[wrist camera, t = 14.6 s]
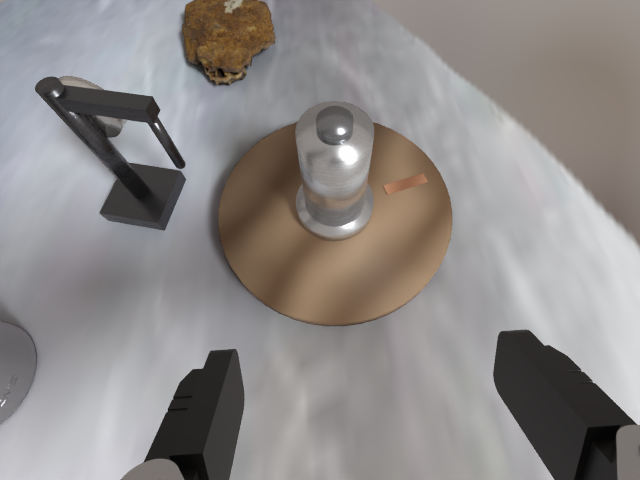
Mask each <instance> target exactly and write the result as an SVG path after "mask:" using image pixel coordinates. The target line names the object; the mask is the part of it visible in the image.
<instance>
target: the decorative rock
mask: <svg viewBox="0 0 640 480" xmlns="http://www.w3.org/2000/svg"><path fill="white" fill-rule="evenodd" d="M273 30H274V28H273V24H272V20H271V13H270V10H269V8H268V6H267V4H266V3H265V2H262V1H258V0H194V1H192V2H190V3H188V4H187V5H186V6H185V23H184V24H183V26H182V31H183V35H184V42H185V55H187V58H186V59H189V62H191V63H193V64H199V62H201V63H202V65H203V66H204V70H205V73H206V75H209V77H210V80H211V81H215V82H216V85H217V84H219V85H220V84H221V83H228V84H231V83H232V82H233V81H235V80H242V79H244V78H245V76H246V71H245V66H248V65H250V67H251V62H252V57H253V56H254V55H256V54H257V53H259V52H260V51H261V49H262V48H263V49H267V48H268V47H269V46H270V45H272V44H274V43H275V34H274V32H273ZM223 75H226V77H223Z"/></svg>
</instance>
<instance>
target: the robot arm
mask: <svg viewBox="0 0 640 480" xmlns="http://www.w3.org/2000/svg"><path fill="white" fill-rule="evenodd" d="M35 370H36V352H35V346H34V344H33V342H32V340H31V338H30V336H29V335H28V334H27V333H26V332H25V331H24V330H23V329H21V328H19V327H18V326H16V325H13V324H9V323H6V322H2V321H0V424H1V423H2V422H4V421H5V420H6V419H7V418H8V417H10V415H11V414H12V413H13V412H14V411H15V410H16V409H17V407H18V406H19V405H20V404H21V402H22V400H23V399H24V397H25V396H26V394H27V393H28V390H29V388H30V386H31V383H32V381H33V378H34V374H35ZM493 376H494V383H495V386H496V389H497V391H498V393H499V395H500V397H501V398H502V400H503V401H504V403H505V404H506V406H507V407H508V409H509V410H510V412H511V413H512V415H513V417H514V418H515V420H516V421H517V423H518V424H519V426H520V427H521V429H522V430H523V432H524V433H525V435H526V437H527V438H528V440H529V441H530V443H531V444H532V446H533V447H534V449H535V450H536V452H537V453H538V455H539V457H540V458H541V460H542V461H543V463H544V464H545V466H546V467H547V469H548V470H549V472H550V473H551V475H552V476H553V478H554V480H640V425H637V424H636V423H635V422H634V421H633V420H632V419H631V418H630V417H629V416H628V415H627V414H626V413H625V412H624V411H623V410H622V409H621V408H620V407H619V406H618V405H617V404H616V403H615V402H614V401H613V400H612V399H611V398H610V397H609V396H608V395H607V394H606V393H605V392H604V391H602V390H601V389H600V388H599V387H598V386H597V385H596V384H595V383H593V382H592V380H591V379H590V378H589V377H588V376H587V375H586V374H585V373H584V372H581V369H580V368H579V367H578V366H577V365H576V364H575V363H574V362H573V361H572V360H571V359H570V358H569V357H568V356H566V355H565V354H563V353H561V352H560V351H558V350H556V349H555V348H553V347H551V346H549V345H548V346H544V345H543V344H542V343H541V342H540V341H539V340H538V339H537V338H536V336H535V335H534V334H533V333H532V332H531V331H529V330H513V331H502V332H500V333H499V336H498V341H497V348H496V356H495V364H494V372H493ZM243 410H244V387H243V381H242V375H241V369H240V363H239V357H238V353H237V350H236V349H229V350H215V351H210V353H209V355H208V358H207V360H206V363H205V365H204V368H203V369H193V370H192V371H191V372H190V373H189V374H188V375H187V376H186V377H185V378H184V379H183V380H182V381H181V382H180V384H179V386H178V388H177V390H176V392H175V395H174V397H173V400H172V401H171V403H170V406H169V408H168V412H167V413H166V414H165V417H164V419H163V421H162V423H161V425H160V428H159V430H158V432H157V434H156V436H155V439H154V441H153V443H152V445H151V448H150V450H149V452H148V454H147V456H146V459H145V461H144V462H143V463H142V464H140V465H138V466H136V467H135V468H133V469H132V470H130V471H129V472H128V473H127V474H126V475H125V476H124V477H123V478H122V479H121V480H229V478H230V473H231V468H232V463H233V458H234V454H235V449H236V444H237V439H238V434H239V430H240V425H241V420H242V415H243Z"/></svg>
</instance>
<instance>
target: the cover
mask: <svg viewBox="0 0 640 480" xmlns="http://www.w3.org/2000/svg"><path fill="white" fill-rule="evenodd" d="M295 136H296V143H297V150H298V157H299V164H300V171H301V178H302V185H301V186H300V188H299V190H298V192H297V196H296V208H297V214H298V217H299V220H300V222H301V224H302V226H303V227H304V228H305V229H306V230H307V231H308V232H309V233H310V234H312V235H313V236H315V237H317V238H319V239H322V240H326V241H343V240H347V239H350V238H352V237H354V236H356V235H358V234H359V233H360V232H362V231H363V230H364V229H365V227H366V226H367V225H368V223H369V221H370V219H371V216H372V211H373V205H374V198H373V193H372V190H371V188H370V186H369V185H368V183H367V182H368V175H369V168H370V161H371V154H372V147H373V140H374V126H373V123H372V120H371V119H370V117H369V116H368V115H367V113H365V112H364V111H363V110H362V109H360V108H359V107H357V106H355V105H353V104H350V103H346V102H338V101H332V102H325V103H321V104H318V105H316V106H314V107H312V108H310V109H309V110H307V111H306V112H305V113H304V114H303V115H302V116H301V117H300V119H299V121H298V123H297V125H296V130H295Z"/></svg>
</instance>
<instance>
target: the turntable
mask: <svg viewBox="0 0 640 480" xmlns="http://www.w3.org/2000/svg"><path fill="white" fill-rule="evenodd" d="M297 123H298V122H297ZM297 123H294V124H292V125H289V126H286V127H284V128H282V129H280V130H277V131H275V132H273V133H272V134H270V135H268V136H267V137H265V138H264V139H262V140H261V141H260V142H258V143H257V144H256V145H254V146H253V147H252V148H251V149H250V150H249V151H248V152H247V153H246V154H245V155H244V156H243V157H242V158H241V160H240V161H239V162H238V163H237V165H236V166H235V168H234V169H233V171H232V172H231V174H230V176H229V178H228V180H227V182H226V184H225V187H224V189H223V192H222V196H221V199H220V205H219V212H218V229H219V235H220V241H221V244H222V247H223V250H224V253H225V256H226V258H227V260H228V262H229V264H230V266H231V268H232V269H233V271H234V272H235V273H236V275H237V276H238V278H239V279H240V281H241V282H242V283H243V285H244V286H245V287H246V288H247V289H248V290H249V291H250V292H251V293H252V294H253V295H254V296H255V297H256V298H257V299H258V300H260V301H261V302H262V303H264V304H265V305H266V306H268V307H269V308H271V309H273V310H274V311H276V312H278V313H280V314H282V315H284V316H287V317H289V318H291V319H294V320H297V321H301V322H305V323H308V324H314V325H322V326H348V325H356V324H362V323H365V322H369V321H373V320H376V319H378V318H381V317H383V316H386V315H388V314H390V313H392V312H394V311H395V310H397V309H399V308H400V307H402V306H404V305H405V304H407V303H408V302H409V301H410V300H411V299H413V298H414V297H415V296H416V295H417V294H418V293H419V292H420V291H421V290H422V289H423V288H424V287H425V286H426V285H427V283H428V282H429V281H430V279H431V278H432V277H433V275H434V274H435V272H436V271H437V269H438V268H439V266H440V264H441V262H442V260H443V258H444V256H445V254H446V251H447V248H448V245H449V242H450V237H451V230H452V208H451V202H450V197H449V194H448V191H447V188H446V185H445V183H444V181H443V179H442V176H441V174H440V173H439V171H438V170H437V168H436V167H435V165H434V164H433V162H432V161H431V160H430V159H429V158H428V156H427V155H426V154H425V153H424V152H423V151H422V150H421V149H420V148H419V147H418V146H416V145H415V144H414V143H413V142H411V141H410V140H409V139H407V138H406V137H404V136H403V135H401V134H399V133H397V132H395V131H394V130H392V129H390V128H387V127H385V126H382V125H380V124H377V123H373V122H372V123H373V126H374V140H373V147H372V154H371V161H370V168H369V175H368V182H367V183H368V185H369V186H370V188H371V190H372V193H373V198H374V205H373V211H372V216H371V219H370V221H369V223H368V225H367V226H366V227H365V229H364V230H363V231H362V232H360V233H359V234H358V235H356V236H354V237H352V238H350V239H347V240H343V241H326V240H322V239H319V238H317V237H315V236H313V235H312V234H310V233H309V232H308V231H307V230H306V229H305V228H304V227H303V226H302V224H301V222H300V220H299V217H298V214H297V208H296V196H297V192H298V190H299V188H300V186H301V185H302V178H301V171H300V164H299V157H298V150H297V143H296V136H295V130H296V125H297Z"/></svg>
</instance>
